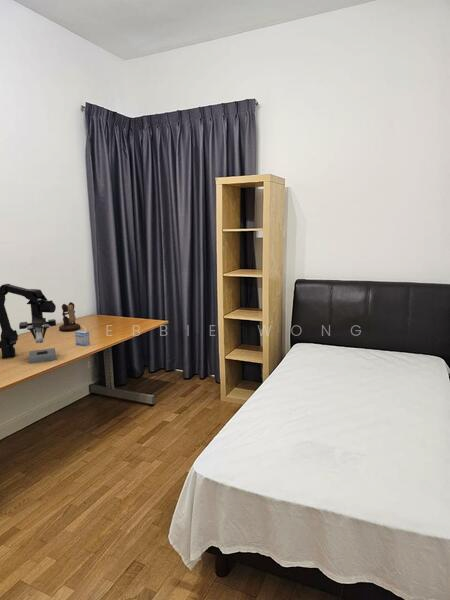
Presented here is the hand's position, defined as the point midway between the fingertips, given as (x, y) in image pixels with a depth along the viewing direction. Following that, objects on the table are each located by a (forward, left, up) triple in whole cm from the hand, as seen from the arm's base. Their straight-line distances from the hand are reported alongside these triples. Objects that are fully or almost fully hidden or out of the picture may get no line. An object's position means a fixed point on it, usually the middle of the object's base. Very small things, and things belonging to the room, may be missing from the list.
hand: (39, 338), depth 223 cm
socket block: (+1, +1, -12) cm, 12 cm away
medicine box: (+25, +18, -12) cm, 33 cm away
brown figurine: (+21, +63, -12) cm, 67 cm away
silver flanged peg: (0, 0, -2) cm, 2 cm away
